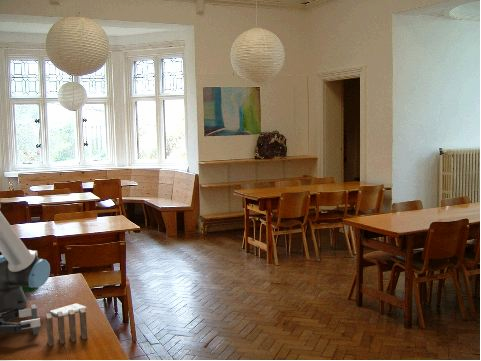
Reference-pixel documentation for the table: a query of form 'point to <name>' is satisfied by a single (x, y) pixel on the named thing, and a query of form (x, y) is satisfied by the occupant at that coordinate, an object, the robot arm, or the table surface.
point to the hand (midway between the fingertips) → (38, 316)
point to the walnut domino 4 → (83, 323)
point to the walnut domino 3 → (72, 325)
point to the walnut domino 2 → (61, 327)
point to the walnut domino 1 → (50, 329)
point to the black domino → (34, 317)
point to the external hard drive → (65, 309)
